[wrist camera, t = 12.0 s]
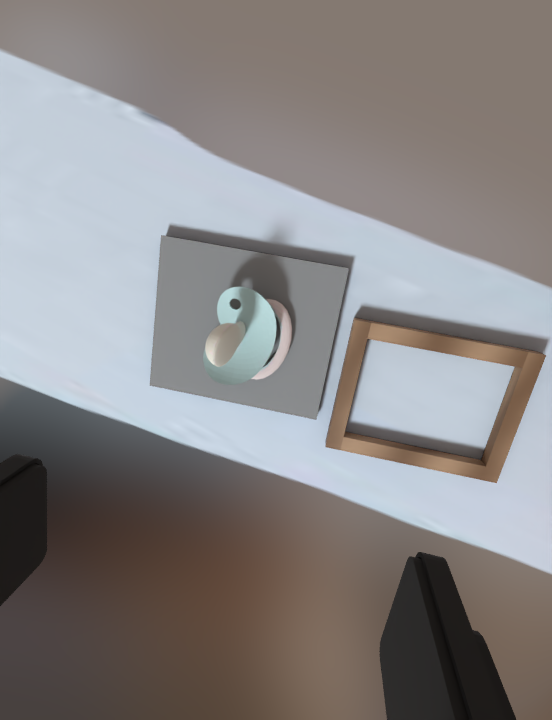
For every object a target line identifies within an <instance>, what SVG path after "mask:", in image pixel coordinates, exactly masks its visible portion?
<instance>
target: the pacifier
mask: <svg viewBox="0 0 552 720" xmlns="http://www.w3.org/2000/svg"><path fill="white" fill-rule="evenodd" d="M234 298H235V299H238V300H239V301H240V302H241V307H240V308H239V309H234V308H233V307H232V306H231V304H230V301H231V300H232V299H234ZM217 315H218V319H219V322H220V325H219V326H217V327H216V328H215V329H213V330H212V332H211V333H210V334H209V336H208V338H207V340H206V345H205V350H204V356H203V362H204V367H205V369H206V372H207V373H208V375H209V376H210V377H211V378H212V379H213V380H214V381H216V382H218V383H221V384H225V385H235V384H240V383H243V382H246V381H248V380H250V379H256V380H258V379H263V378H265V377H267V376H269V375H271V374H272V373H273V372H275V371H276V370H277V369H278V368H279V367H280V365H281V364H282V362H283V361H284V359H285V357H286V355H287V353H288V351H289V347H290V343H291V339H292V325H291V319H290V316H289V314H288V311H287V310H286V308H285V307H284V306H283V305H282V304H281V303H279V302H278V301H276V300H272V299H265V298H264V297H263V296H262V295H260V294H259V293H258V292H256V291H254V290H252V289H249V288H246V287H233V288H229V289H227V290H226V291H225V292H223V293H222V295H221V296H220V298H219V301H218V305H217ZM275 316H276V317H277V318H278V321H279V324H280V330H281V336H280V342H279V346H278V349H277V351H276V353H275V355H274V356H273V358H272V359H271V360H270V361H269V362H268V363H267V364H265V363H266V362H267V360H268V359H269V356H270V354H271V352H272V349H273V346H274V343H275V338H276V318H275Z"/></svg>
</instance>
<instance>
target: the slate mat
mask: <svg viewBox="0 0 552 720" xmlns="http://www.w3.org/2000/svg"><path fill="white" fill-rule="evenodd" d="M348 271H349V268H345V267H340V266H334V265H328V264H323V263H317V262H311V261H306V260H300V259H294V258H289V257H283V256H277V255H272V254H266V253H260V252H255V251H249V250H243V249H238V248H232V247H226V246H221V245H215V244H209V243H204V242H198V241H192V240H186V239H181V238H175V237H169V236H163V235H161V244H160V257H159V270H158V284H157V297H156V310H155V323H154V336H153V350H152V363H151V376H150V386H155V387H160V388H165V389H170V390H174V391H179V392H184V393H189V394H194V395H199V396H204V397H208V398H213V399H218V400H223V401H228V402H233V403H238V404H242V405H247V406H252V407H257V408H262V409H267V410H271V411H276V412H281V413H286V414H291V415H296V416H301V417H305V418H310V419H315V420H316V419H317V414H318V409H319V405H320V400H321V395H322V391H323V386H324V382H325V377H326V372H327V368H328V363H329V358H330V354H331V349H332V345H333V340H334V335H335V331H336V326H337V322H338V317H339V312H340V308H341V303H342V298H343V294H344V289H345V285H346V280H347V275H348ZM233 287H246V288H249V289H252V290H254V291H256V292H258V293H259V294H260V295H262V296H263V297H264V298H265V299H272V300H276V301H278V302H279V303H281V304H282V305H283V306H284V307H285V308H286V310H287V311H288V314H289V316H290V319H291V325H292V339H291V343H290V347H289V351H288V353H287V355H286V357H285V359H284V361H283V362H282V364H281V365H280V367H279V368H278V369H277V370H276V371H275V372H273V373H272V374H271V375H269V376H267V377H265V378H263V379H258V380H256V379H250V380H248V381H246V382H243V383H240V384H235V385H225V384H221V383H218V382H216V381H214V380H213V379H212V378H211V377H210V376H209V375H208V373H207V372H206V369H205V367H204V362H203V356H204V350H205V345H206V340H207V338H208V336H209V334H210V333H211V332H212V330H213V329H215V328H216V327H217V326H219V325H220V322H219V319H218V315H217V305H218V301H219V298H220V296H221V295H222V293H223V292H225V291H226V290H227V289H229V288H233ZM230 304H231V306H232V307H233V308H234V309H239V308H240V307H241V302H240V301H239V300H238V299H235V298H234V299H232V300H231V301H230ZM275 318H276V338H275V343H274V346H273V349H272V352H271V354H270V356H269V359H268V360H267V362H266V363H265V364H267V363H268V362H269V361H270V360H271V359H272V358H273V356H274V355H275V353H276V351H277V349H278V346H279V342H280V336H281V330H280V324H279V321H278V318H277V317H276V316H275Z"/></svg>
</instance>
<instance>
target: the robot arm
mask: <svg viewBox="0 0 552 720" xmlns="http://www.w3.org/2000/svg"><path fill="white" fill-rule="evenodd" d="M46 551H47V472H46V468H45V467H44V466H43V464H42V461H41V460H39V459H37V458H32V457H29V456H24V455H20V454H16V455H13V456H11V457H10V458H8V459H6V460H5V461H3V462H2V463H0V606H1V605H2V604H3V603H4V601H6V599H8V597H9V596H10V595H11V594H12V593H13V592H14V591H15V590H16V589H17V588H18V587H19V586H20V585H21V584H22V583H23V582H24V581H25V580H26V578H27V577H28V576H29V575H30V574H31V573H32V572H33V571H34V570H35V569H36V568H37V567H38V566H39V565H40V563H41V562H42V561H43V559H44V557H45V555H46ZM380 663H381V671H382V679H383V689H384V697H385V705H386V714H387V720H516V717H515V715H514V712H513V710H512V707H511V705H510V703H509V700H508V697H507V695H506V693H505V690H504V687H503V685H502V682H501V680H500V677H499V675H498V672H497V669H496V667H495V664H494V662H493V659H492V657H491V654H490V652H489V649H488V647H487V644H486V643H485V640H484V638H483V636H482V635H481V634H480V633H479V632H478V631H474V630H472V628H471V625H470V623H469V620H468V617H467V615H466V612H465V609H464V606H463V604H462V601H461V599H460V596H459V593H458V591H457V588H456V585H455V582H454V580H453V577H452V574H451V572H450V569H449V566H448V564H447V562H446V560H445V559H444V558H443V557H438V556H434V555H430V554H426V553H422V552H418V554H417V555H416V557H409V558H408V560H407V562H406V565H405V568H404V571H403V574H402V577H401V580H400V584H399V587H398V589H397V592H396V595H395V598H394V601H393V604H392V608H391V610H390V613H389V616H388V620H387V622H386V625H385V629H384V631H383V635H382V638H381V642H380Z"/></svg>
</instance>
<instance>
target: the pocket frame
mask: <svg viewBox="0 0 552 720" xmlns="http://www.w3.org/2000/svg"><path fill="white" fill-rule="evenodd" d="M367 339H372V340H377V341H383V342H388V343H393V344H399V345H404V346H409V347H414V348H420V349H425V350H430V351H436V352H441V353H446V354H452V355H457V356H462V357H467V358H473V359H478V360H483V361H489V362H494V363H499V364H504V365H510V366H515V368H514V371H513V374H512V376H511V379H510V382H509V385H508V387H507V390H506V393H505V396H504V398H503V401H502V404H501V406H500V409H499V412H498V415H497V417H496V420H495V423H494V426H493V428H492V431H491V434H490V437H489V439H488V442H487V445H486V447H485V450H484V453H483V456H482V458H481V460H479V459H474V458H469V457H464V456H459V455H454V454H450V453H445V452H440V451H435V450H430V449H426V448H421V447H416V446H411V445H406V444H401V443H397V442H392V441H387V440H382V439H377V438H372V437H368V436H363V435H358V434H353V433H348V432H345V429H346V425H347V421H348V417H349V413H350V408H351V404H352V400H353V396H354V392H355V388H356V384H357V380H358V375H359V371H360V367H361V363H362V359H363V355H364V351H365V347H366V343H367ZM545 357H546V355H544V354H542V353H540V352H537V351H531V350H526V349H520V348H515V347H510V346H504V345H499V344H494V343H488V342H483V341H477V340H472V339H467V338H461V337H456V336H450V335H445V334H440V333H434V332H429V331H423V330H418V329H413V328H407V327H402V326H396V325H391V324H386V323H380V322H375V321H369V320H364V319H359V318H354V320H353V324H352V328H351V333H350V337H349V341H348V346H347V350H346V355H345V359H344V363H343V368H342V372H341V376H340V381H339V385H338V390H337V394H336V398H335V403H334V407H333V411H332V416H331V420H330V425H329V429H328V433H327V438H326V447H328V448H333V449H337V450H342V451H347V452H352V453H356V454H361V455H366V456H371V457H375V458H380V459H385V460H390V461H394V462H399V463H404V464H409V465H413V466H418V467H423V468H428V469H432V470H437V471H442V472H447V473H451V474H456V475H461V476H466V477H470V478H475V479H480V480H484V481H489V482H494V483H497V481H498V478H499V475H500V473H501V470H502V468H503V465H504V463H505V460H506V457H507V455H508V452H509V450H510V447H511V445H512V442H513V439H514V437H515V434H516V432H517V429H518V426H519V424H520V421H521V419H522V416H523V414H524V411H525V408H526V406H527V403H528V401H529V398H530V395H531V393H532V390H533V388H534V385H535V383H536V380H537V377H538V375H539V372H540V370H541V367H542V364H543V362H544V359H545Z"/></svg>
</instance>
